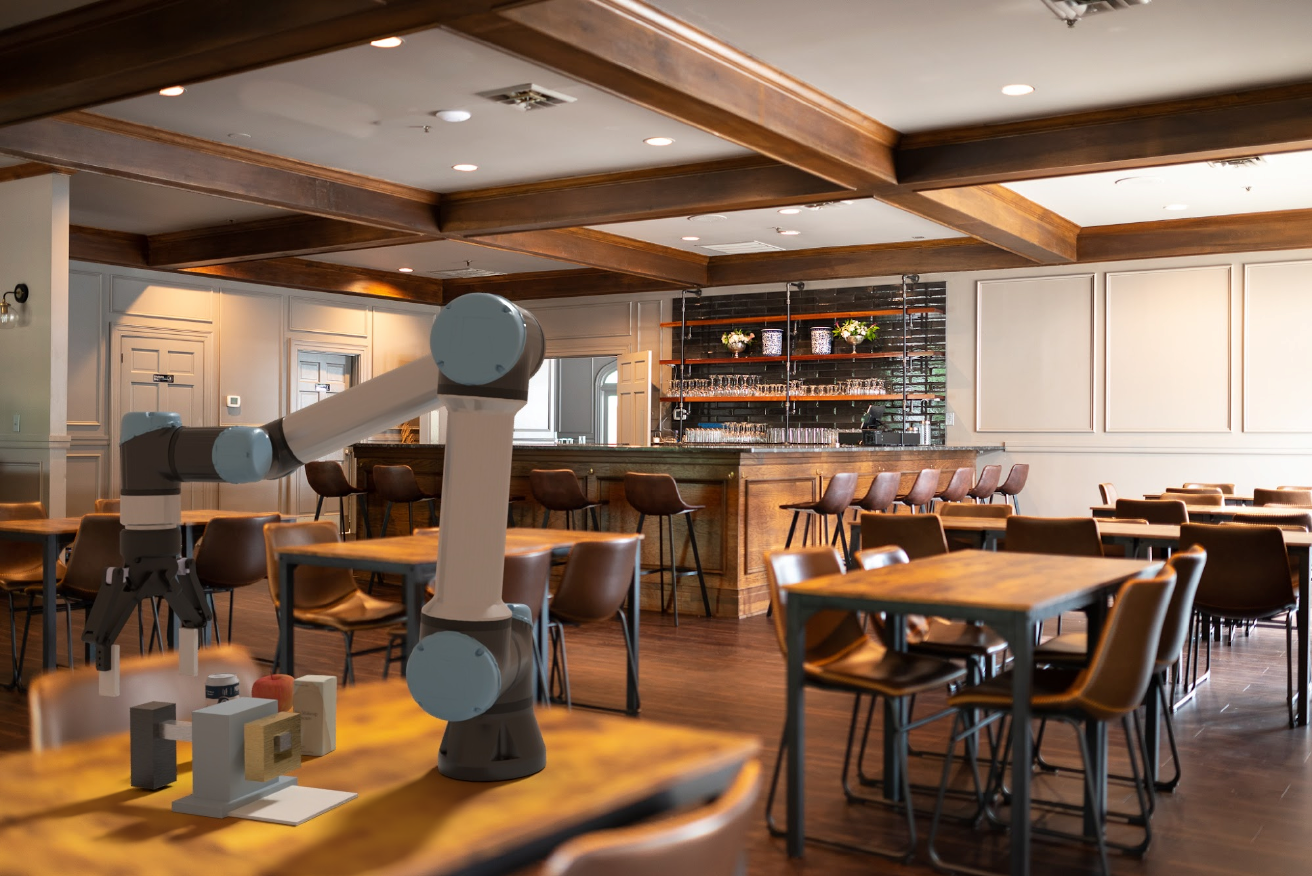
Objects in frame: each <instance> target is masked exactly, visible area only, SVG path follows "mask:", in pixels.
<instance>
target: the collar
mask: <svg viewBox="0 0 1312 876" xmlns="http://www.w3.org/2000/svg"><path fill="white" fill-rule="evenodd" d="M286 732H291V748H289V749H287V750H284V751H281V752H278V751H274V738H273V737H275V736H278V735H280V734H283V733H286ZM244 741H245V780H250V781H258V782H266V781H269V780H271V779H274V778H276V777H279V776H281V775H283V776H284V775H285V774H288V773H291V772H293V771H295V770H298V769H301V768H302V755H301V713H293V712H289V711H287V712H279V713H276V714H273V715H270V716H267V717H264V718H261V719H258V720H255V721H252V722H249V723H246V724H244Z"/></svg>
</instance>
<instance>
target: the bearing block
mask: <svg viewBox="0 0 1312 876" xmlns="http://www.w3.org/2000/svg"><path fill="white" fill-rule="evenodd" d="M276 713H278V700H273V699H262V698H252V696H251V697H249V696H248V697H247V696H239V698H236V699H232V700H229V701H226V702H222V703H219V704H216V705H212V706H209V707H206V706H205V707H203V708H199V709H196V710H192V711H191V722H192V742H191V751H192V752H191V756H192V757H191V759H192V761H191V762H192V763H191V764H192V765H191V767H192V773H191V774H192V793H190V794H188V795H186V796H182V797H181V798H178V799H175V800H173V801H171V812H173V813H180V814H181V813H182V814H189V815H194V816H201V817H210V818H216V819H217V818H218V819H225V818H226V817H229V816H228V812H231V811H233V810H235V809H238V808H240V807H243V806H245V805H247V804H250V803H252V802H254V801H257V800H259V799H261V798H264V797H266V796H269V795H271V794H273V793H276V792H278V791H280V790H283V789H285V788H287V787H290V786H292V785H294V786H299V785H298V784H299V783H298V780H299V779H298V776H292V775H291V776H289V775H284V774H283V775H281V776H279V777H276V778H274V779H271V780H269V781H266V782H258V781H250V780H245V741H244V724H246V723H249V722H252V721H255V720H258V719H261V718H264V717H267V716H270V715H273V714H276Z"/></svg>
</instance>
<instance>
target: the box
mask: <svg viewBox="0 0 1312 876" xmlns="http://www.w3.org/2000/svg"><path fill="white" fill-rule="evenodd" d="M294 679H295V680H294V681H293V706H292V713H301V756H314V757H323V756H326V755H327V754H329V753H331V752H333V751H335V750H336V749H337V690H338V689H337V685H338V681H337V680H338V677H337V676H335V675H324V674H322V675H320V674H317V675H316V674H307V675H304V676H300V677H298V678H294Z"/></svg>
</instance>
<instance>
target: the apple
mask: <svg viewBox="0 0 1312 876" xmlns="http://www.w3.org/2000/svg"><path fill="white" fill-rule="evenodd" d="M269 672H270V674H269V675H265V676H263V677H260V678H258V679H257V680H255V681H254V682H253V684H252V686H251V694H250V695H251V698H262V699H273V700H278V713H279V712H289V711H290V710H291V709H293V681H294V680H295V679H296V678H294V677H293V676H291V675H288V674H282V673H281V674H273V670H270V671H269Z"/></svg>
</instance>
